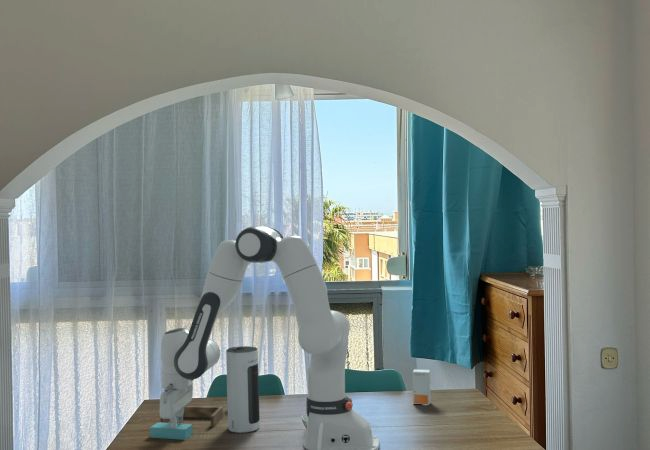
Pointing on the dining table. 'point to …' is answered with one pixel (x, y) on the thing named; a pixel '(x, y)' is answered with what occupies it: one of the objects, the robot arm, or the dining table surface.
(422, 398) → the skincare box
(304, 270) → the robot arm
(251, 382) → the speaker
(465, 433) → the dining table surface
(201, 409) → the walnut box
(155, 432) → the turquoise rectangular block
